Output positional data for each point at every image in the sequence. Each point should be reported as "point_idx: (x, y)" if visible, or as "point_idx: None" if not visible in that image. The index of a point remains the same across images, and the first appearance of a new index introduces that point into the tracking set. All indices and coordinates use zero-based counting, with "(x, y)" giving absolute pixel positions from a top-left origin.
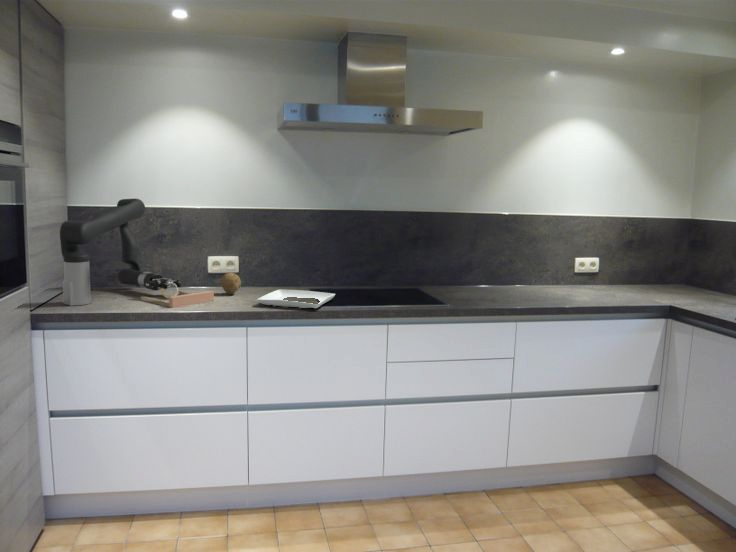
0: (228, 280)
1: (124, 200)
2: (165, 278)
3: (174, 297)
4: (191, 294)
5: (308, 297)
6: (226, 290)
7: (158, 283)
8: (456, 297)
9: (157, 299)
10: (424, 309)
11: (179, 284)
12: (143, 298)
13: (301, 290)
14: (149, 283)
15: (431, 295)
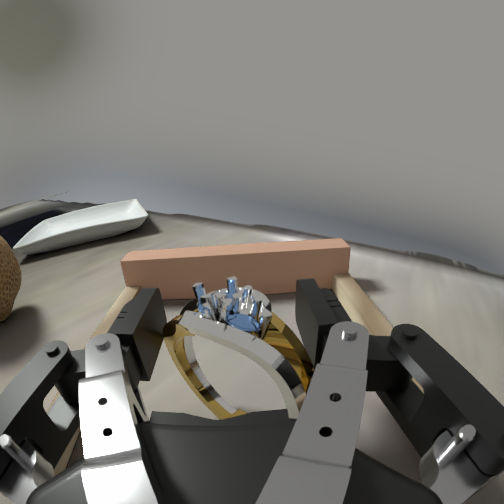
0: (9, 248)
1: None
2: (88, 464)
3: (331, 239)
4: (237, 247)
5: (46, 235)
6: (11, 299)
7: (365, 336)
8: (21, 217)
9: (381, 335)
10: (83, 204)
11: (160, 301)
12: None
13: (29, 231)
14: (470, 395)
15: (11, 223)
